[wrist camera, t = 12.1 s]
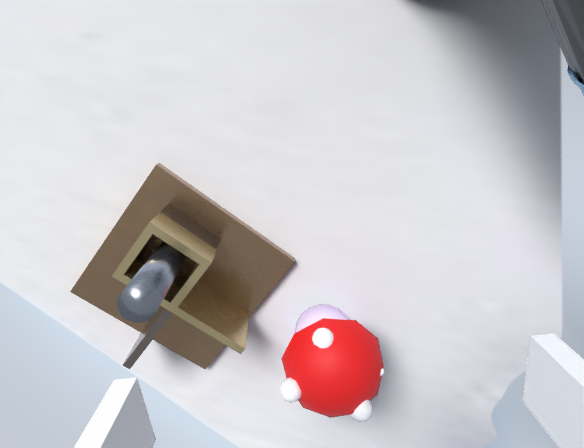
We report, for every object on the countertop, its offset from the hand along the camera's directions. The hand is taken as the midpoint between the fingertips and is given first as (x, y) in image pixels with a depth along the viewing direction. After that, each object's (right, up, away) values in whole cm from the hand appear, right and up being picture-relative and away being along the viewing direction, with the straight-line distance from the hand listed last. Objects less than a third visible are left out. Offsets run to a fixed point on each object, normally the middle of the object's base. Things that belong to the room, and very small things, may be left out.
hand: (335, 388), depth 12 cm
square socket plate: (-14, 0, +30) cm, 33 cm away
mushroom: (+2, -7, +33) cm, 34 cm away
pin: (-14, +3, +28) cm, 31 cm away
